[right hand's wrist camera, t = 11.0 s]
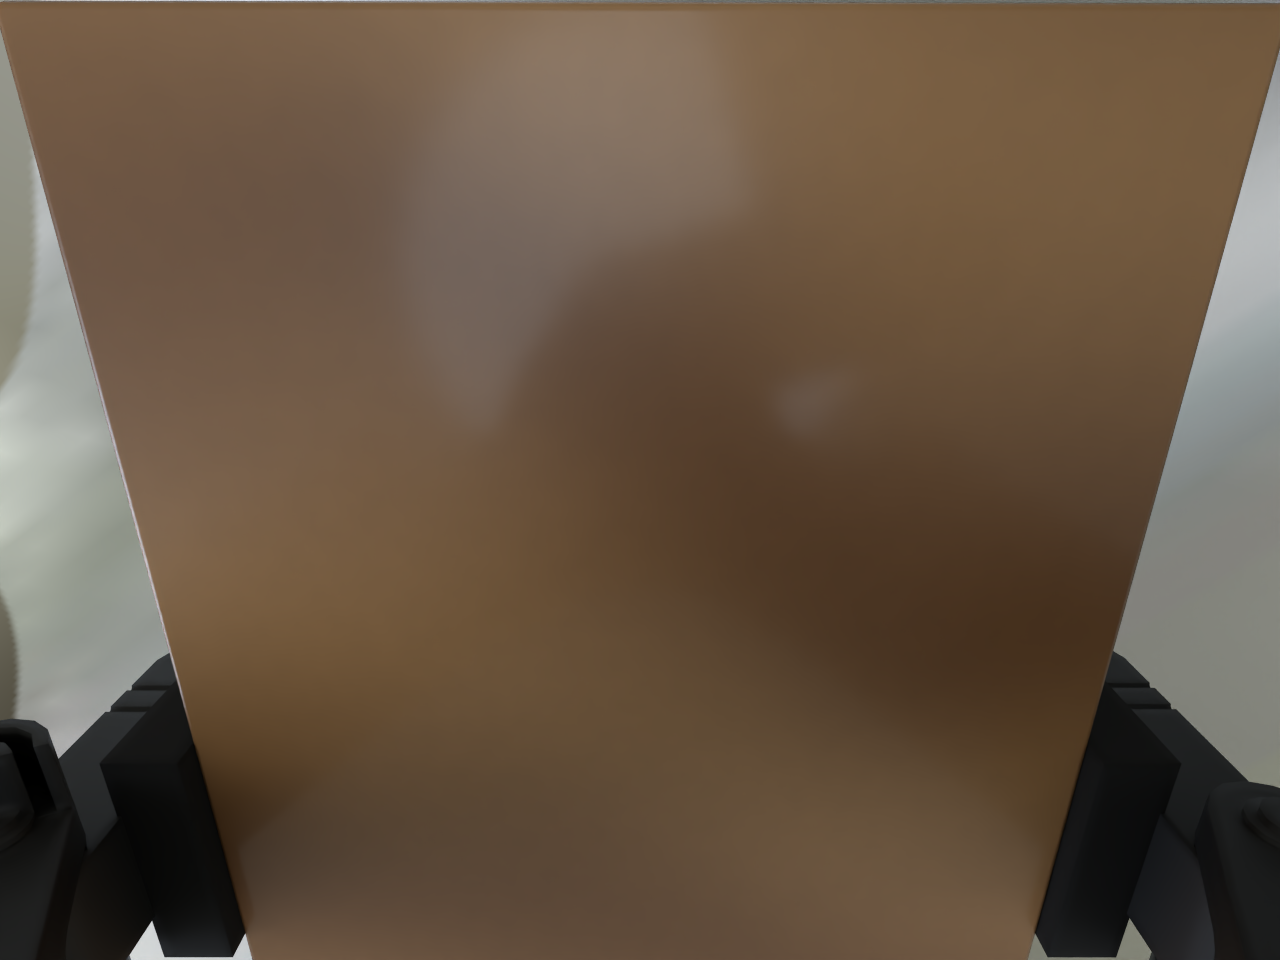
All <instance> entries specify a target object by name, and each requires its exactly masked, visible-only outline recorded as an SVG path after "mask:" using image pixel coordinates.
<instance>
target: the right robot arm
mask: <svg viewBox="0 0 1280 960" xmlns="http://www.w3.org/2000/svg"><path fill="white" fill-rule="evenodd" d="M1149 684H1150V683H1149V682H1148V681H1147V680H1146V679H1145V678H1144V677H1143V676H1142V675H1141V674H1140V673H1139V672H1138V671H1137V670H1136V669H1135V668H1134V667H1133V666H1132V665H1131V664H1130V663H1129V662H1128V661H1127V660H1126V659H1125V658H1124V657H1122V656H1120V655H1119V654H1117V653H1115V652H1114V651H1113V653H1112V656H1111V660H1110V664H1109V667H1108V671H1107V675H1106V678H1105V682H1104V685H1103V689H1102V693H1101V696H1100V700H1099V703H1098V707H1097V711H1096V714H1095V718H1094V722H1093V725H1092V729H1091V732H1090V736H1089V740H1088V743H1087V747H1086V750H1085V754H1084V758H1083V761H1082V765H1081V769H1080V772H1079V776H1078V779H1077V783H1076V787H1075V790H1074V794H1073V797H1072V801H1071V805H1070V808H1069V812H1068V816H1067V819H1066V823H1065V826H1064V830H1063V834H1062V837H1061V841H1060V844H1059V848H1058V852H1057V855H1056V859H1055V863H1054V866H1053V870H1052V873H1051V877H1050V881H1049V884H1048V888H1047V891H1046V895H1045V899H1044V902H1043V906H1042V909H1041V913H1040V917H1039V920H1038V924H1037V928H1036V931H1035V934H1036V935H1037V937H1038V939H1039V941H1040V943H1041V945H1042V947H1043V949H1044V951H1045V953H1046V955H1047V957H1116V956H1117V953H1118V950H1119V947H1120V944H1121V941H1122V938H1123V935H1124V932H1125V929H1126V926H1127V923H1128V920H1129V918H1130V919H1131V921H1132V922H1133V924H1134V925H1135V927H1136V928H1137V930H1138V931H1139V933H1140V934H1141V936H1142V938H1143V939H1144V941H1145V942H1146V944H1147V945H1148V947H1149V948H1150V950H1151V951H1152V953H1151V956H1150V958H1149V960H1280V788H1277V787H1275V786H1271V785H1265V784H1259V783H1253V782H1249V781H1248V780H1247V779H1246V778H1245V777H1244V776H1243V775H1242V774H1241V773H1240V772H1239V771H1238V770H1237V769H1236V768H1235V767H1234V766H1233V765H1232V764H1231V763H1230V762H1229V761H1228V760H1227V759H1226V758H1225V757H1224V756H1223V755H1222V754H1221V753H1220V752H1219V751H1218V750H1217V749H1216V748H1215V747H1213V746H1212V745H1211V744H1210V743H1209V742H1208V741H1207V740H1206V739H1205V738H1204V737H1203V736H1202V735H1201V734H1200V733H1199V732H1198V731H1197V730H1196V729H1195V728H1194V727H1193V726H1192V725H1191V724H1190V723H1189V722H1188V721H1187V720H1186V719H1185V718H1184V717H1183V716H1182V715H1181V714H1180V713H1179V712H1178V711H1177V710H1176V709H1171V704H1170V703H1169V702H1168V701H1167V700H1166V699H1165V698H1164V697H1163V696H1162V695H1161V694H1160V693H1159V692H1158V691H1157V690H1156V689H1155V688H1150V685H1149ZM151 921H153V924H154V927H155V930H156V933H157V936H158V939H159V942H160V945H161V948H162V951H163V954H164V957H233V956H234V954H235V952H236V950H237V948H238V946H239V944H240V942H241V940H242V938H243V937H244V935H245V930H244V926H243V922H242V919H241V915H240V911H239V908H238V904H237V900H236V897H235V893H234V889H233V886H232V882H231V878H230V874H229V871H228V867H227V863H226V860H225V856H224V852H223V849H222V845H221V841H220V838H219V834H218V830H217V826H216V823H215V819H214V815H213V812H212V808H211V804H210V801H209V797H208V793H207V790H206V786H205V782H204V778H203V775H202V771H201V767H200V764H199V760H198V756H197V753H196V749H195V745H194V742H193V738H192V734H191V730H190V727H189V723H188V719H187V716H186V712H185V708H184V705H183V701H182V697H181V694H180V690H179V686H178V683H177V679H176V675H175V671H174V668H173V664H172V660H171V657H170V653H168V654H167V655H165V656H163V657H162V658H160V659H158V660H157V661H156V662H155V663H154V664H153V665H152V666H151V667H150V668H149V669H148V670H147V671H146V672H145V673H144V674H143V675H142V676H141V677H140V678H139V679H138V680H137V681H136V682H135V683H134V684H133V685H132V690H131V691H126V692H125V693H124V694H123V695H122V696H121V697H120V698H119V699H118V700H117V701H116V702H115V703H114V704H113V705H112V706H111V711H110V712H105V713H104V714H103V715H102V716H101V717H100V718H99V719H98V720H97V721H96V722H95V723H94V724H93V725H92V726H91V727H90V728H89V729H88V730H87V731H86V732H85V733H84V734H83V735H82V736H81V737H80V738H79V739H78V740H77V741H76V742H75V743H74V744H73V745H72V746H71V747H70V748H69V749H68V750H67V751H66V752H65V753H64V754H63V755H62V756H61V757H60V758H59V759H58V757H57V754H56V751H55V748H54V746H53V743H52V740H51V737H50V735H49V732H48V729H46V728H45V727H43V726H42V725H40V724H39V723H37V722H36V721H31V720H20V719H7V720H1V721H0V960H131V958H130V956H129V955H130V953H131V952H132V950H133V949H134V947H135V946H136V944H137V943H138V941H139V940H140V938H141V936H142V935H143V933H144V932H145V930H146V929H147V927H148V926H149V924H150V923H151Z"/></svg>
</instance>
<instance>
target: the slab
mask: <svg viewBox="0 0 1280 960" xmlns="http://www.w3.org/2000/svg"><path fill="white" fill-rule="evenodd" d="M0 29H1V33H2V37H3V40H4V44H5V48H6V51H7V55H8V59H9V62H10V66H11V70H12V73H13V77H14V81H15V85H16V88H17V92H18V96H19V99H20V103H21V107H22V110H23V114H24V118H25V121H26V125H27V129H28V133H29V136H30V140H31V144H32V147H33V151H34V155H35V158H36V162H37V166H38V169H39V173H40V177H41V181H42V184H43V188H44V192H45V195H46V199H47V203H48V206H49V210H50V214H51V217H52V221H53V225H54V229H55V232H56V236H57V240H58V243H59V247H60V251H61V254H62V258H63V262H64V265H65V269H66V273H67V277H68V280H69V284H70V288H71V291H72V295H73V299H74V302H75V306H76V310H77V313H78V317H79V321H80V325H81V328H82V332H83V336H84V339H85V343H86V347H87V350H88V354H89V358H90V361H91V365H92V369H93V372H94V376H95V380H96V384H97V387H98V391H99V395H100V398H101V402H102V406H103V409H104V413H105V417H106V420H107V424H108V428H109V432H110V435H111V439H112V443H113V446H114V450H115V454H116V457H117V461H118V465H119V468H120V472H121V476H122V480H123V483H124V487H125V491H126V494H127V498H128V502H129V505H130V509H131V513H132V516H133V520H134V524H135V528H136V531H137V535H138V539H139V542H140V546H141V550H142V553H143V557H144V561H145V564H146V568H147V572H148V575H149V579H150V583H151V587H152V590H153V594H154V598H155V601H156V605H157V609H158V612H159V616H160V620H161V623H162V627H163V631H164V635H165V638H166V642H167V646H168V649H169V653H170V657H171V660H172V664H173V668H174V671H175V675H176V679H177V683H178V686H179V690H180V694H181V697H182V701H183V705H184V708H185V712H186V716H187V719H188V723H189V727H190V730H191V734H192V738H193V742H194V745H195V749H196V753H197V756H198V760H199V764H200V767H201V771H202V775H203V778H204V782H205V786H206V790H207V793H208V797H209V801H210V804H211V808H212V812H213V815H214V819H215V823H216V826H217V830H218V834H219V838H220V841H221V845H222V849H223V852H224V856H225V860H226V863H227V867H228V871H229V874H230V878H231V882H232V886H233V889H234V893H235V897H236V900H237V904H238V908H239V911H240V915H241V919H242V922H243V926H244V930H245V933H246V937H247V941H248V945H249V948H250V952H251V956H252V959H253V960H1028V956H1029V953H1030V949H1031V946H1032V942H1033V938H1034V935H1035V931H1036V928H1037V924H1038V920H1039V917H1040V913H1041V909H1042V906H1043V902H1044V899H1045V895H1046V891H1047V888H1048V884H1049V881H1050V877H1051V873H1052V870H1053V866H1054V863H1055V859H1056V855H1057V852H1058V848H1059V844H1060V841H1061V837H1062V834H1063V830H1064V826H1065V823H1066V819H1067V816H1068V812H1069V808H1070V805H1071V801H1072V797H1073V794H1074V790H1075V787H1076V783H1077V779H1078V776H1079V772H1080V769H1081V765H1082V761H1083V758H1084V754H1085V750H1086V747H1087V743H1088V740H1089V736H1090V732H1091V729H1092V725H1093V722H1094V718H1095V714H1096V711H1097V707H1098V703H1099V700H1100V696H1101V693H1102V689H1103V685H1104V682H1105V678H1106V675H1107V671H1108V667H1109V664H1110V660H1111V656H1112V653H1113V649H1114V646H1115V642H1116V638H1117V635H1118V631H1119V628H1120V624H1121V620H1122V617H1123V613H1124V610H1125V606H1126V602H1127V599H1128V595H1129V591H1130V588H1131V584H1132V581H1133V577H1134V573H1135V570H1136V566H1137V563H1138V559H1139V555H1140V552H1141V548H1142V544H1143V541H1144V537H1145V534H1146V530H1147V526H1148V523H1149V519H1150V516H1151V512H1152V508H1153V505H1154V501H1155V497H1156V494H1157V490H1158V487H1159V483H1160V479H1161V476H1162V472H1163V469H1164V465H1165V461H1166V458H1167V454H1168V450H1169V447H1170V443H1171V440H1172V436H1173V432H1174V429H1175V425H1176V422H1177V418H1178V414H1179V411H1180V407H1181V403H1182V400H1183V396H1184V393H1185V389H1186V385H1187V382H1188V378H1189V375H1190V371H1191V367H1192V364H1193V360H1194V357H1195V353H1196V349H1197V346H1198V342H1199V338H1200V335H1201V331H1202V328H1203V324H1204V320H1205V317H1206V313H1207V310H1208V306H1209V302H1210V299H1211V295H1212V291H1213V288H1214V284H1215V281H1216V277H1217V273H1218V270H1219V266H1220V263H1221V259H1222V255H1223V252H1224V248H1225V244H1226V241H1227V237H1228V234H1229V230H1230V226H1231V223H1232V219H1233V216H1234V212H1235V208H1236V205H1237V201H1238V197H1239V194H1240V190H1241V187H1242V183H1243V179H1244V176H1245V172H1246V169H1247V165H1248V161H1249V158H1250V154H1251V151H1252V147H1253V143H1254V140H1255V136H1256V132H1257V129H1258V125H1259V122H1260V118H1261V114H1262V111H1263V107H1264V104H1265V100H1266V96H1267V93H1268V89H1269V85H1270V82H1271V78H1272V75H1273V71H1274V67H1275V64H1276V60H1277V57H1278V53H1279V49H1280V3H888V2H406V1H3V2H0Z"/></svg>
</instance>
